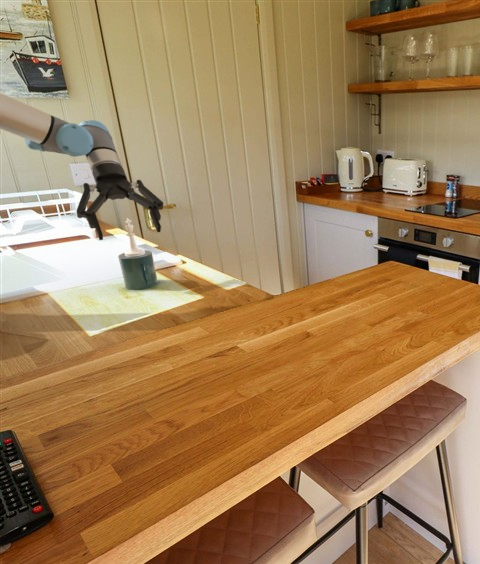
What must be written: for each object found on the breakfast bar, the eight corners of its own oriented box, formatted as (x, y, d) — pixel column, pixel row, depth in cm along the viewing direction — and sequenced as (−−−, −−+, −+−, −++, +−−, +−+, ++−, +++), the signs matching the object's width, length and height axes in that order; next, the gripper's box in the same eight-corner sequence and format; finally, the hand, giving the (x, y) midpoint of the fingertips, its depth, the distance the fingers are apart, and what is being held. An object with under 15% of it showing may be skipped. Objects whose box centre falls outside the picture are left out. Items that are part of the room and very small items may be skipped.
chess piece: (120, 256, 115) (111, 219, 111) (135, 250, 119) (127, 216, 116) (135, 257, 114) (127, 221, 110) (149, 252, 118) (142, 217, 115)
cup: (120, 285, 119) (113, 254, 116) (150, 277, 125) (144, 248, 122) (136, 294, 113) (129, 262, 110) (166, 285, 119) (160, 255, 116)
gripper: (156, 176, 129) (179, 233, 124) (53, 182, 113) (75, 248, 108) (157, 159, 123) (182, 219, 118) (49, 163, 108) (72, 232, 103)
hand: (131, 233), depth 113 cm, fingers open, 13 cm apart
